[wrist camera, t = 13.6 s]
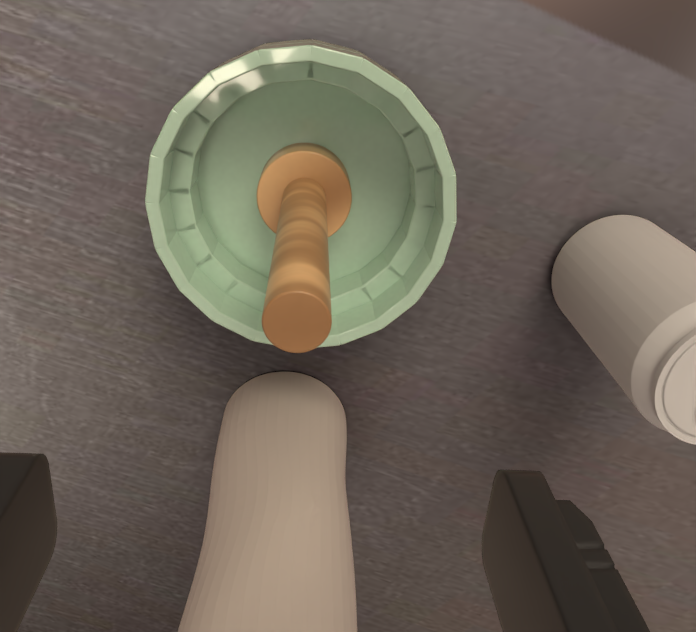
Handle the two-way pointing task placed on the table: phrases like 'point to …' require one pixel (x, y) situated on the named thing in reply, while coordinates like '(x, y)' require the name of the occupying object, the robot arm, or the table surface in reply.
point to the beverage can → (636, 313)
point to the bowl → (256, 149)
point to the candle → (277, 515)
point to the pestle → (301, 241)
